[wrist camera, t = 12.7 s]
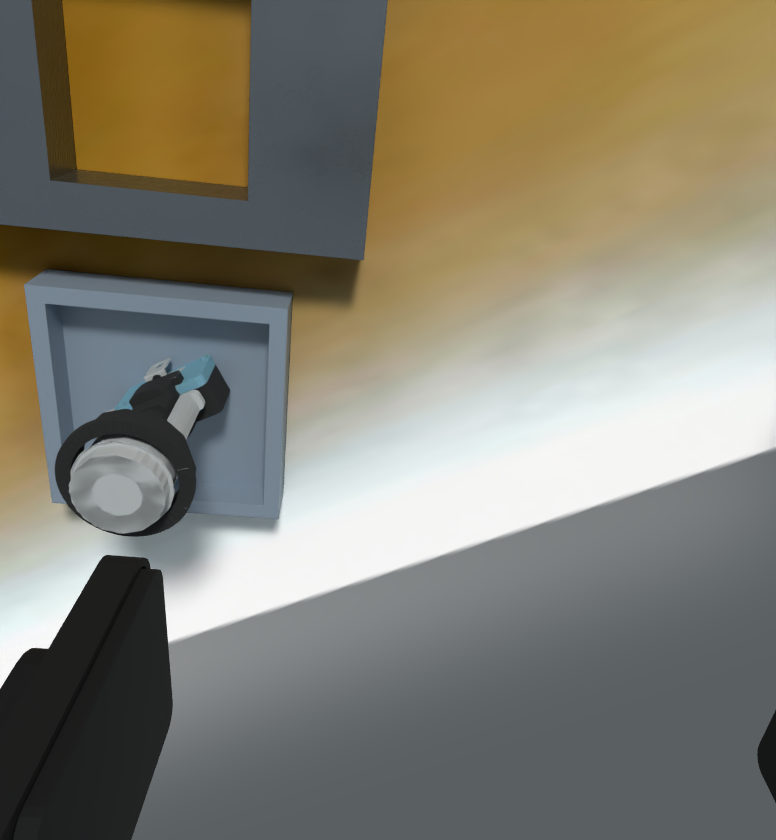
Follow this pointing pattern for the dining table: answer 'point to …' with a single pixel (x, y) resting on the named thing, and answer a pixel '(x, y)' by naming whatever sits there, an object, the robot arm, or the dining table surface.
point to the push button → (141, 451)
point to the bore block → (268, 137)
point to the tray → (182, 342)
